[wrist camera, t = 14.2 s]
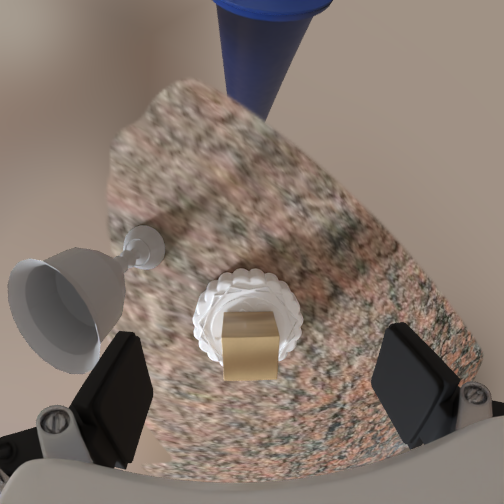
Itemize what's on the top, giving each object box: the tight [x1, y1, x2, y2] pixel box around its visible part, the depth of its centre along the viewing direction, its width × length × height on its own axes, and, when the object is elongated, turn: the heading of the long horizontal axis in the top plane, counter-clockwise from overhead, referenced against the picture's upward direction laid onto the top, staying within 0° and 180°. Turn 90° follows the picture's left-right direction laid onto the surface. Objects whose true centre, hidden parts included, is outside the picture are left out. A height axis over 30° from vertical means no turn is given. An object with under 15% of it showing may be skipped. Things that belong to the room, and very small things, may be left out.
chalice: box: [8, 225, 165, 374], centre depth 20 cm, size 7×7×18 cm
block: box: [221, 311, 280, 381], centre depth 25 cm, size 5×5×5 cm
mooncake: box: [193, 268, 303, 366], centre depth 29 cm, size 12×12×4 cm
